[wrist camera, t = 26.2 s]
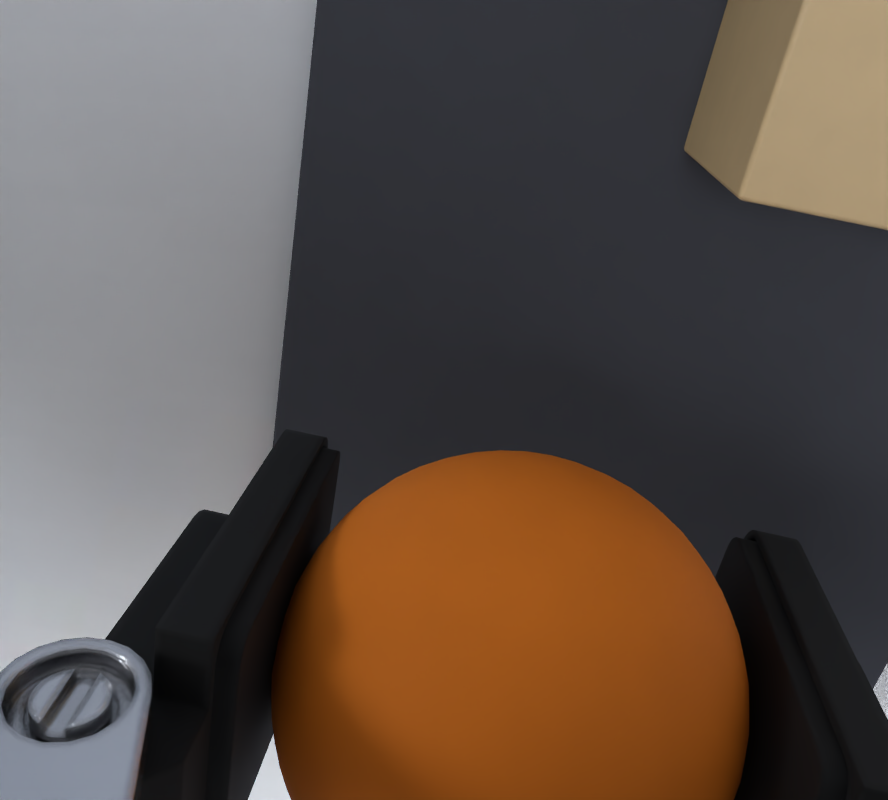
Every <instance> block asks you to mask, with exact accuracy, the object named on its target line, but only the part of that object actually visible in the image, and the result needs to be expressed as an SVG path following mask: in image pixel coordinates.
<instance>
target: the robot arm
mask: <svg viewBox="0 0 888 800" xmlns="http://www.w3.org/2000/svg"><path fill="white" fill-rule="evenodd" d="M339 463H340V451H338V450H333V449H328V439H327V437H323V436H319V435H314V434H309V433H305V432H300V431H296V430H291V429H286V430H285V431H284V432H283V433H282V435H281V436H280V438H279V439H278V441H277V442H276V444H275V445H274V447H273V449H272V450H271V452H270V453H269V455H268V456H267V458H266V459H265V461H264V462H263V464H262V465H261V467H260V468H259V470H258V471H257V473H256V474H255V476H254V477H253V479H252V481H251V482H250V484H249V485H248V487H247V488H246V490H245V491H244V493H243V494H242V496H241V497H240V499H239V500H238V502H237V503H236V505H235V506H234V508H233V509H232V511H231V513H230V514H229V515H227V514H222V513H218V512H213V511H209V510H201V511H199V512H198V513H197V514H196V515H195V516H194V517H193V519H192V520H191V522H190V523H189V524H188V526H187V527H186V528H185V530H184V531H183V533H182V534H181V535H180V537H179V538H178V539H177V541H176V542H175V544H174V545H173V546H172V548H171V549H170V550H169V552H168V553H167V555H166V556H165V557H164V559H163V560H162V562H161V563H160V564H159V566H158V567H157V568H156V570H155V571H154V573H153V574H152V575H151V577H150V578H149V579H148V581H147V582H146V584H145V585H144V586H143V588H142V589H141V590H140V592H139V593H138V595H137V596H136V597H135V599H134V600H133V602H132V603H131V604H130V606H129V607H128V608H127V610H126V611H125V613H124V614H123V615H122V617H121V618H120V619H119V621H118V622H117V624H116V625H115V626H114V628H113V629H112V630H111V632H110V633H109V635H108V636H107V637H106V639H96V638H88V637H86V638H75V639H64V640H60V641H56V642H53V643H49V644H46V645H43V646H39V647H37V648H35V649H33V650H31V651H29V652H27V653H26V654H24V655H22V656H20V657H18V658H16V659H15V660H14V661H12V662H11V663H10V664H9V665H8V666H7V667H6V668H4V669H3V670H2V671H1V672H0V800H248V797H249V795H250V792H251V790H252V787H253V784H254V782H255V779H256V777H257V774H258V772H259V769H260V766H261V764H262V761H263V759H264V756H265V754H266V751H267V749H268V746H269V743H270V741H271V738H272V736H273V726H272V710H271V684H272V670H273V665H274V659H275V654H276V649H277V644H278V639H279V636H280V632H281V628H282V624H283V621H284V617H285V614H286V611H287V608H288V605H289V602H290V600H291V597H292V594H293V591H294V588H295V586H296V584H297V582H298V580H299V579H300V577H301V575H302V573H303V572H304V570H305V568H306V566H307V565H308V563H309V561H310V560H311V558H312V556H313V555H314V553H315V551H316V550H317V548H318V547H319V545H320V544H321V543H322V542H323V541H324V540H325V538H326V537H327V536H328V535H329V534H330V527H331V520H332V513H333V506H334V499H335V492H336V485H337V478H338V471H339ZM715 579H716V581H717V583H718V585H719V587H720V588H721V590H722V592H723V594H724V597H725V599H726V602H727V604H728V606H729V609H730V611H731V614H732V616H733V619H734V622H735V625H736V628H737V630H738V633H739V636H740V641H741V645H742V650H743V655H744V659H745V665H746V671H747V677H748V682H749V738H748V744H747V750H746V756H745V762H744V767H743V772H742V777H741V782H740V785H739V787H738V790H737V793H736V796H735V798H734V800H888V720H887V718H886V716H885V714H884V712H883V710H882V708H881V705H880V703H879V701H878V699H877V697H876V695H875V693H874V691H873V689H872V687H871V685H870V683H869V681H868V679H867V677H866V675H865V673H864V671H863V669H862V667H861V665H860V663H859V662H858V660H857V658H856V656H855V654H854V652H853V650H852V648H851V646H850V644H849V642H848V640H847V638H846V636H845V634H844V632H843V630H842V628H841V626H840V624H839V622H838V619H837V617H836V615H835V613H834V611H833V609H832V607H831V605H830V603H829V601H828V599H827V597H826V595H825V593H824V591H823V589H822V587H821V585H820V583H819V581H818V579H817V577H816V575H815V573H814V570H813V568H812V566H811V564H810V562H809V560H808V558H807V556H806V554H805V552H804V550H803V548H802V546H801V544H800V543H799V541H798V540H797V539H794V538H789V537H785V536H780V535H776V534H771V533H766V532H762V531H757V530H751V531H749V532H748V533H747V535H746V536H745V537H744V539H743V538H738V537H735V538H733V539H732V540H731V541H730V543H729V545H728V547H727V549H726V552H725V554H724V557H723V559H722V561H721V564H720V566H719V569H718V571H717V574H716V576H715Z"/></svg>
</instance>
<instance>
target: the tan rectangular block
mask: <svg viewBox="0 0 888 800" xmlns="http://www.w3.org/2000/svg"><path fill="white" fill-rule="evenodd" d="M684 151H685V152H686V153H688V154H689V155H690V156H691V157H692V158H693V159H694V160H695V161H697V162H698V163H699V164H700V165H701V166H702V167H703V168H705V169H706V170H707V171H708V172H709V173H710V174H711V175H712V176H714V177H715V178H716V179H717V180H718V181H719V182H720V183H721V184H723V185H724V186H725V187H726V188H727V189H728V190H729V191H731V192H732V193H733V194H734V195H735V196H736V197H737V198H739V199H740V200H741V201H746V202H751V203H756V204H761V205H766V206H771V207H776V208H781V209H786V210H790V211H795V212H800V213H805V214H810V215H815V216H820V217H825V218H830V219H835V220H840V221H844V222H849V223H854V224H859V225H864V226H869V227H874V228H879V229H884V230H888V0H728V2H727V5H726V9H725V12H724V15H723V19H722V22H721V25H720V29H719V32H718V35H717V39H716V42H715V45H714V49H713V52H712V55H711V59H710V62H709V66H708V69H707V72H706V76H705V79H704V82H703V86H702V89H701V92H700V96H699V99H698V102H697V106H696V109H695V112H694V116H693V119H692V122H691V126H690V129H689V132H688V136H687V139H686V142H685V146H684Z"/></svg>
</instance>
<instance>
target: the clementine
mask: <svg viewBox="0 0 888 800" xmlns="http://www.w3.org/2000/svg"><path fill="white" fill-rule="evenodd" d="M271 710H272V726H273V733H274V740H275V746H276V750H277V755H278V760H279V765H280V769H281V772H282V775H283V778H284V782H285V785H286V788H287V790H288V793H289V795H290V798H291V800H734V798H735V796H736V793H737V790H738V787H739V785H740V782H741V777H742V772H743V767H744V762H745V756H746V750H747V744H748V738H749V682H748V677H747V671H746V665H745V659H744V655H743V650H742V645H741V641H740V636H739V633H738V630H737V628H736V625H735V622H734V619H733V616H732V614H731V611H730V609H729V606H728V604H727V602H726V599H725V597H724V594H723V592H722V590H721V588H720V587H719V585H718V583H717V581H716V579H715V578H714V576H713V574H712V572H711V570H710V569H709V567H708V566H707V564H706V563H705V561H704V560H703V559H702V557H701V556H700V554H699V553H698V552H697V550H696V549H695V548H694V546H693V545H692V544H691V542H690V541H689V540H688V539H687V537H686V536H685V535H684V533H683V532H682V531H681V530H680V529H679V528H678V527H677V526H676V525H675V524H674V523H672V522H671V521H670V520H669V519H668V518H667V517H666V516H665V515H664V514H663V513H662V512H661V511H660V510H659V509H658V508H656V507H655V506H654V505H653V504H652V503H651V502H649V501H648V500H647V499H645V498H644V497H642V496H641V495H640V494H638V493H637V492H636V491H634V490H633V489H632V488H630V487H628V486H626V485H625V484H623V483H621V482H619V481H617V480H616V479H614V478H612V477H610V476H609V475H607V474H604V473H602V472H599V471H597V470H594V469H592V468H589V467H587V466H584V465H582V464H580V463H577V462H574V461H570V460H567V459H563V458H560V457H556V456H552V455H547V454H540V453H534V452H528V451H507V450H497V451H484V452H474V453H468V454H463V455H458V456H453V457H449V458H445V459H441V460H438V461H435V462H432V463H429V464H426V465H423V466H420V467H418V468H416V469H413V470H411V471H409V472H407V473H405V474H403V475H401V476H399V477H397V478H395V479H393V480H392V481H390V482H389V483H387V484H386V485H384V486H383V487H381V488H380V489H378V490H377V491H375V492H374V493H372V494H371V495H369V496H368V497H366V498H365V499H364V500H362V501H361V502H360V503H359V504H358V505H357V506H356V507H354V508H353V509H352V510H351V511H350V512H349V513H348V514H346V515H345V516H344V518H343V519H342V520H341V521H340V522H339V523H338V524H337V525H336V527H335V528H334V529H333V530H332V531H331V532H330V534H329V535H328V536H327V537H326V538H325V540H324V541H323V542H322V543H321V544H320V545H319V547H318V548H317V550H316V551H315V553H314V555H313V556H312V558H311V560H310V561H309V563H308V565H307V566H306V568H305V570H304V572H303V573H302V575H301V577H300V579H299V580H298V582H297V584H296V586H295V588H294V591H293V594H292V597H291V600H290V602H289V605H288V608H287V611H286V614H285V617H284V621H283V624H282V628H281V632H280V636H279V639H278V644H277V649H276V654H275V659H274V665H273V670H272V684H271Z"/></svg>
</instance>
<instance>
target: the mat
mask: <svg viewBox="0 0 888 800" xmlns="http://www.w3.org/2000/svg"><path fill="white" fill-rule="evenodd" d="M727 2H728V0H317V8H316V18H315V28H314V38H313V49H312V59H311V69H310V79H309V89H308V99H307V109H306V119H305V129H304V139H303V149H302V159H301V169H300V179H299V189H298V200H297V210H296V220H295V230H294V240H293V250H292V260H291V270H290V280H289V290H288V300H287V310H286V320H285V330H284V340H283V351H282V361H281V371H280V381H279V391H278V401H277V411H276V421H275V431H274V441H273V447H274V445H275V444H276V442H277V441H278V439H279V438H280V436H281V435H282V433H283V432H284V431H285V430H286V429H291V430H296V431H300V432H305V433H309V434H314V435H319V436H323V437H327V439H328V449H333V450H338V451H340V463H339V471H338V478H337V485H336V492H335V499H334V506H333V513H332V520H331V527H330V532H331V531H332V530H333V529H334V528H335V527H336V525H337V524H338V523H339V522H340V521H341V520H342V519H343V518H344V516H345V515H346V514H348V513H349V512H350V511H351V510H352V509H353V508H354V507H356V506H357V505H358V504H359V503H360V502H361V501H362V500H364V499H365V498H366V497H368V496H369V495H371V494H372V493H374V492H375V491H377V490H378V489H380V488H381V487H383V486H384V485H386V484H387V483H389V482H390V481H392V480H393V479H395V478H397V477H399V476H401V475H403V474H405V473H407V472H409V471H411V470H413V469H416V468H418V467H420V466H423V465H426V464H429V463H432V462H435V461H438V460H441V459H445V458H449V457H453V456H458V455H463V454H468V453H474V452H484V451H497V450H507V451H528V452H534V453H540V454H547V455H552V456H556V457H560V458H563V459H567V460H570V461H574V462H577V463H580V464H582V465H584V466H587V467H589V468H592V469H594V470H597V471H599V472H602V473H604V474H607V475H609V476H610V477H612V478H614V479H616V480H617V481H619V482H621V483H623V484H625V485H626V486H628V487H630V488H632V489H633V490H634V491H636V492H637V493H638V494H640V495H641V496H642V497H644V498H645V499H647V500H648V501H649V502H651V503H652V504H653V505H654V506H655V507H656V508H658V509H659V510H660V511H661V512H662V513H663V514H664V515H665V516H666V517H667V518H668V519H669V520H670V521H671V522H672V523H674V524H675V525H676V526H677V527H678V528H679V529H680V530H681V531H682V532H683V533H684V535H685V536H686V537H687V539H688V540H689V541H690V542H691V544H692V545H693V546H694V548H695V549H696V550H697V552H698V553H699V554H700V556H701V557H702V559H703V560H704V561H705V563H706V564H707V566H708V567H709V569H710V570H711V572H712V574H713V576H714V578H715V576H716V574H717V571H718V569H719V566H720V564H721V561H722V559H723V557H724V554H725V552H726V549H727V547H728V545H729V543H730V541H731V540H732V539H733V538H735V537H738V538H743V539H744V537H745V536H746V535H747V533H748V532H749V531H751V530H757V531H762V532H766V533H771V534H776V535H780V536H785V537H789V538H794V539H797V540H798V541H799V543H800V544H801V546H802V548H803V550H804V552H805V554H806V556H807V558H808V560H809V562H810V564H811V566H812V568H813V570H814V573H815V575H816V577H817V579H818V581H819V583H820V585H821V587H822V589H823V591H824V593H825V595H826V597H827V599H828V601H829V603H830V605H831V607H832V609H833V611H834V613H835V615H836V617H837V619H838V622H839V624H840V626H841V628H842V630H843V632H844V634H845V636H846V638H847V640H848V642H849V644H850V646H851V648H852V650H853V652H854V654H855V656H856V658H857V660H858V662H859V663H860V665H861V667H862V669H863V671H864V673H865V675H866V677H867V679H868V681H869V683H870V685H871V687H872V689H873V688H874V686H875V684H876V682H877V681H878V679H879V677H880V675H881V673H882V672H883V670H884V668H885V666H886V664H887V663H888V230H884V229H879V228H874V227H869V226H864V225H859V224H854V223H849V222H844V221H840V220H835V219H830V218H825V217H820V216H815V215H810V214H805V213H800V212H795V211H790V210H786V209H781V208H776V207H771V206H766V205H761V204H756V203H751V202H746V201H741V200H740V199H739V198H737V197H736V196H735V195H734V194H733V193H732V192H731V191H729V190H728V189H727V188H726V187H725V186H724V185H723V184H721V183H720V182H719V181H718V180H717V179H716V178H715V177H714V176H712V175H711V174H710V173H709V172H708V171H707V170H706V169H705V168H703V167H702V166H701V165H700V164H699V163H698V162H697V161H695V160H694V159H693V158H692V157H691V156H690V155H689V154H688V153H686V152H685V151H684V146H685V142H686V139H687V136H688V132H689V129H690V126H691V122H692V119H693V116H694V112H695V109H696V106H697V102H698V99H699V96H700V92H701V89H702V86H703V82H704V79H705V76H706V72H707V69H708V66H709V62H710V59H711V55H712V52H713V49H714V45H715V42H716V39H717V35H718V32H719V29H720V25H721V22H722V19H723V15H724V12H725V9H726V5H727Z"/></svg>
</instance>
